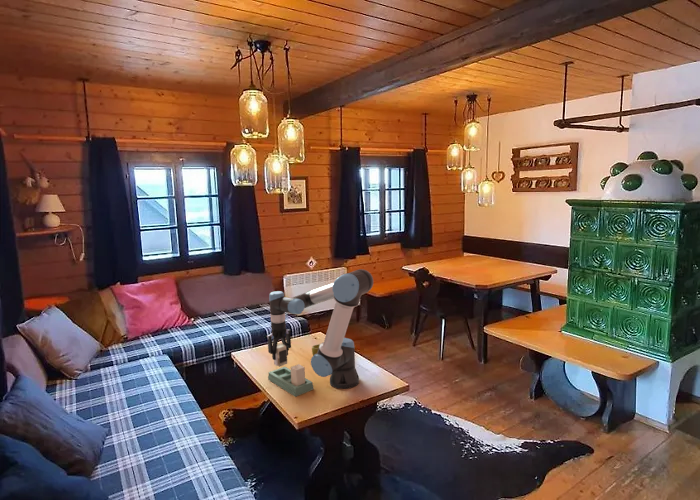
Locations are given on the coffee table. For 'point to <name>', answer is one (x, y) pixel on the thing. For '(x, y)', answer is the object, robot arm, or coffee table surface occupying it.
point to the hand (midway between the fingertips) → (280, 363)
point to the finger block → (281, 354)
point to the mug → (315, 349)
